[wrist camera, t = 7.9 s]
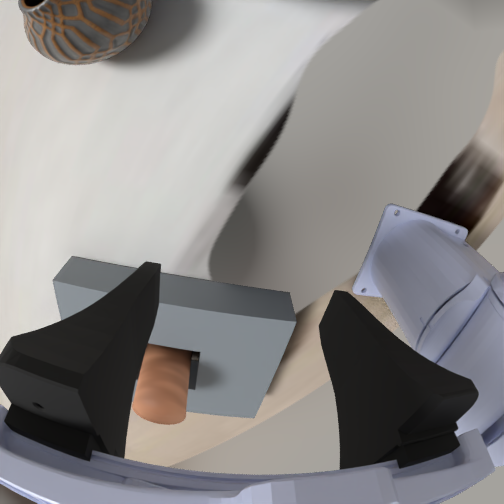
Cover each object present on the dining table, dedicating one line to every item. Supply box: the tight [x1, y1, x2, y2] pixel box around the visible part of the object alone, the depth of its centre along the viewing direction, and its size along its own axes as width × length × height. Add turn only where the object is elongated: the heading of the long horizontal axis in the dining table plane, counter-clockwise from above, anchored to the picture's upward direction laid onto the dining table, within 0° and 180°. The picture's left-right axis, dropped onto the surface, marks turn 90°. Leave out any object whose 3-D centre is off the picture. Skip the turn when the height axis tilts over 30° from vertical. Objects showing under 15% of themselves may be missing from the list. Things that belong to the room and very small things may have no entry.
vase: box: [18, 0, 152, 65], centre depth 9 cm, size 7×7×9 cm
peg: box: [132, 343, 192, 425], centre depth 22 cm, size 4×4×8 cm
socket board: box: [53, 256, 297, 418], centre depth 24 cm, size 18×14×4 cm
